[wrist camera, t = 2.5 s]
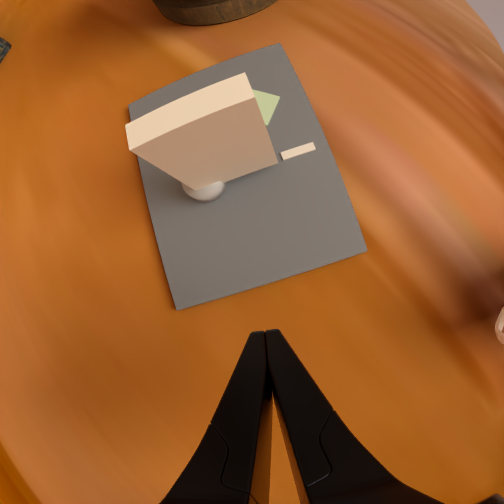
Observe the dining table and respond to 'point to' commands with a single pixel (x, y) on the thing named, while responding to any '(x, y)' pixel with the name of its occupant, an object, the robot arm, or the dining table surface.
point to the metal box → (4, 48)
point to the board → (253, 194)
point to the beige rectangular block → (205, 138)
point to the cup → (500, 326)
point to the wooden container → (209, 10)
